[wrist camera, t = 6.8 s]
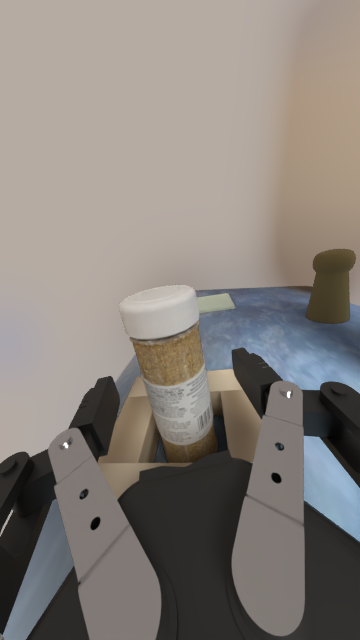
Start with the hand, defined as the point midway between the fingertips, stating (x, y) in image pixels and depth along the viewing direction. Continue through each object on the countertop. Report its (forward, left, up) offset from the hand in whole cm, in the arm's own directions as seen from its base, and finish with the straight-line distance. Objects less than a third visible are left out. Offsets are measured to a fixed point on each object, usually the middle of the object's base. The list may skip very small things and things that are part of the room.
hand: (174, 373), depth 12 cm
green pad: (-3, -39, -8) cm, 40 cm away
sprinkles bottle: (0, -1, -8) cm, 8 cm away
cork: (-23, -23, -8) cm, 33 cm away
